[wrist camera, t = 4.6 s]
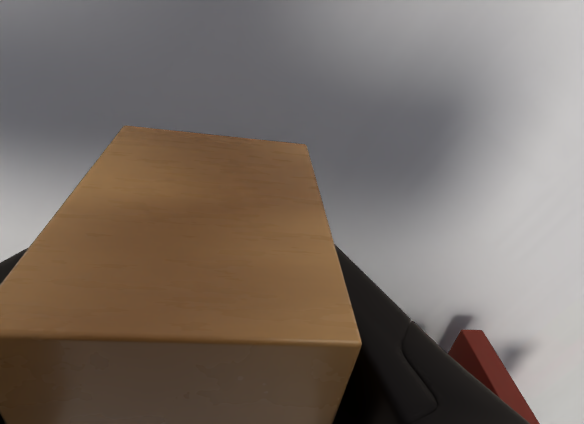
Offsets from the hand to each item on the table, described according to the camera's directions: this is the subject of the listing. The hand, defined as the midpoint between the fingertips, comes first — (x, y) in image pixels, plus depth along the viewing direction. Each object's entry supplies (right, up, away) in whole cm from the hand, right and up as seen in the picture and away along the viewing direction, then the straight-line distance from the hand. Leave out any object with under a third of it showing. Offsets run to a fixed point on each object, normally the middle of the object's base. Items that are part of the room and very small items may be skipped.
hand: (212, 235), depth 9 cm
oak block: (0, +1, +1) cm, 1 cm away
